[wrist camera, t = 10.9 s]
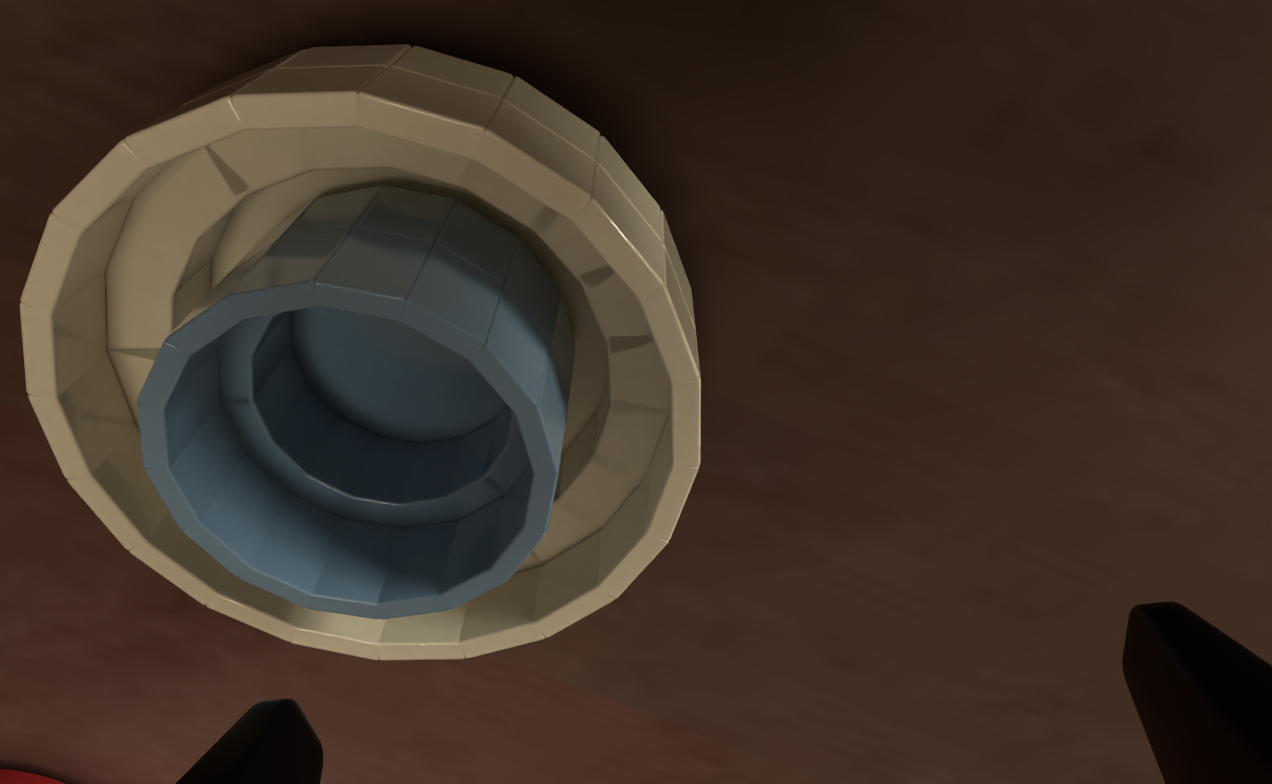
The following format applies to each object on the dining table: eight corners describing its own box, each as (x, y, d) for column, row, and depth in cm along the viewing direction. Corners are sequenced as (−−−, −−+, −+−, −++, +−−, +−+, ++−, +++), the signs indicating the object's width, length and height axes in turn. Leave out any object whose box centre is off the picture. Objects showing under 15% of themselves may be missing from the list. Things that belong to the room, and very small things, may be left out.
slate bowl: (331, 108, 17) (228, 197, 13) (636, 298, 19) (634, 427, 15) (202, 371, 20) (84, 512, 16) (477, 510, 22) (437, 667, 18)
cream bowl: (264, -104, 16) (152, -88, 12) (804, 261, 19) (840, 357, 16) (66, 386, 21) (-51, 498, 18) (517, 602, 25) (495, 731, 21)
